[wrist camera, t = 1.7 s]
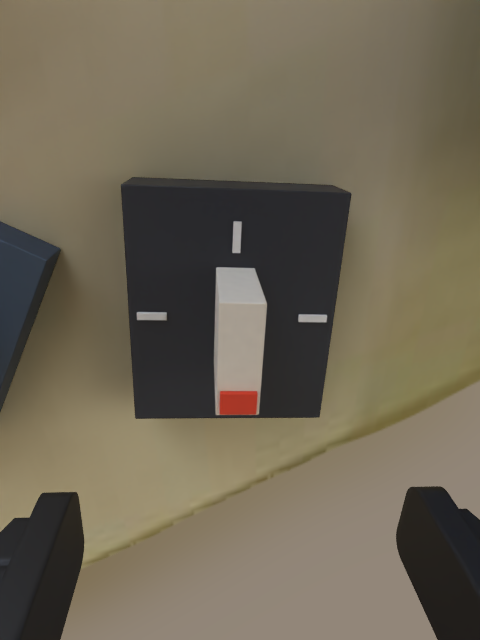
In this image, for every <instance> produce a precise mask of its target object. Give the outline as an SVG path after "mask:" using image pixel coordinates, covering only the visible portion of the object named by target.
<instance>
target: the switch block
mask: <svg viewBox="0 0 480 640" xmlns="http://www.w3.org/2000/svg"><path fill="white" fill-rule="evenodd" d="M60 251H61V249H60V248H58V247H56V246H54V245H52V244H49V243H47V242H45V241H43V240H40V239H38V238H36V237H34V236H31V235H29V234H27V233H25V232H22V231H20V230H18V229H16V228H13V227H11V226H9V225H7V224H4V223H2V222H0V411H1V409H2V406H3V403H4V401H5V398H6V395H7V393H8V390H9V387H10V385H11V382H12V379H13V377H14V374H15V371H16V369H17V366H18V363H19V361H20V358H21V355H22V352H23V350H24V347H25V344H26V342H27V339H28V336H29V334H30V331H31V328H32V326H33V323H34V320H35V318H36V315H37V312H38V310H39V307H40V304H41V302H42V299H43V296H44V294H45V291H46V288H47V285H48V283H49V280H50V277H51V275H52V272H53V269H54V267H55V264H56V261H57V259H58V256H59V253H60Z"/></svg>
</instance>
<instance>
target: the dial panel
mask: <svg viewBox="0 0 480 640" xmlns="http://www.w3.org/2000/svg"><path fill="white" fill-rule="evenodd" d="M121 193H122V210H123V226H124V242H125V258H126V275H127V291H128V307H129V323H130V339H131V356H132V372H133V388H134V404H135V418H136V419H146V418H314V417H319V416H320V410H321V403H322V396H323V389H324V382H325V375H326V368H327V361H328V354H329V347H330V340H331V333H332V326H333V319H334V312H335V305H336V298H337V291H338V284H339V277H340V270H341V263H342V256H343V249H344V242H345V235H346V228H347V221H348V214H349V207H350V200H351V193H350V192H347V191H345V190H343V189H340V188H338V187H336V186H333V185H315V184H290V183H265V182H240V181H215V180H189V179H164V178H139V177H132V178H131V179H129V180H128V181H126V182H124V183H123V184H121ZM217 267H229V268H255V271H256V274H257V276H258V279H259V282H260V285H261V288H262V291H263V293H264V296H265V299H266V302H267V313H266V327H265V340H264V353H263V366H262V380H261V393H260V406H259V414H258V415H216V411H215V381H214V335H215V294H216V268H217Z"/></svg>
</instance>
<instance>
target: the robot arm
mask: <svg viewBox="0 0 480 640" xmlns="http://www.w3.org/2000/svg"><path fill="white" fill-rule="evenodd" d="M396 541H397V548H398V552H399V555H400V558H401V560H402V562H403V565H404V567H405V569H406V571H407V574H408V576H409V578H410V580H411V582H412V585H413V586H414V589H415V591H416V593H417V595H418V598H419V600H420V602H421V604H422V606H423V609H424V611H425V613H426V615H427V617H428V620H429V622H430V624H431V626H432V628H433V630H434V633H435V635H436V637H437V639H438V640H480V520H479V519H478V518H477V517H476V516H474V515H473V514H472V513H471V512H470V511H469V510H467V509H458V507H457V506H456V504H455V503H454V501H453V500H452V499H451V497H450V495H449V494H448V492H447V491H446V490H445V489H444V488H442V487H410V488H409V489H408V491H407V493H406V497H405V501H404V505H403V508H402V512H401V516H400V520H399V524H398V527H397V534H396ZM83 552H84V534H83V527H82V519H81V512H80V504H79V497H78V494H77V493H76V492H56V493H42V494H41V495H40V497H39V499H38V501H37V503H36V505H35V507H34V509H33V511H32V514H31V516H30V518H14V519H13V520H12V521H11V522H10V523H9V524H8V525H7V526H6V527H5V528H4V529H3V530H2V531H1V532H0V640H60V639H61V635H62V632H63V628H64V625H65V621H66V617H67V614H68V610H69V607H70V604H71V600H72V597H73V593H74V589H75V586H76V583H77V579H78V576H79V572H80V569H81V565H82V560H83Z"/></svg>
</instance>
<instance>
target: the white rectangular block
mask: <svg viewBox="0 0 480 640" xmlns="http://www.w3.org/2000/svg"><path fill="white" fill-rule="evenodd" d="M266 313H267V302H266V299H265V296H264V293H263V291H262V288H261V285H260V282H259V279H258V276H257V274H256V271H255V268H229V267H217V268H216V294H215V335H214V381H215V411H216V415H258V414H259V406H260V393H261V380H262V366H263V353H264V340H265V327H266Z"/></svg>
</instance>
